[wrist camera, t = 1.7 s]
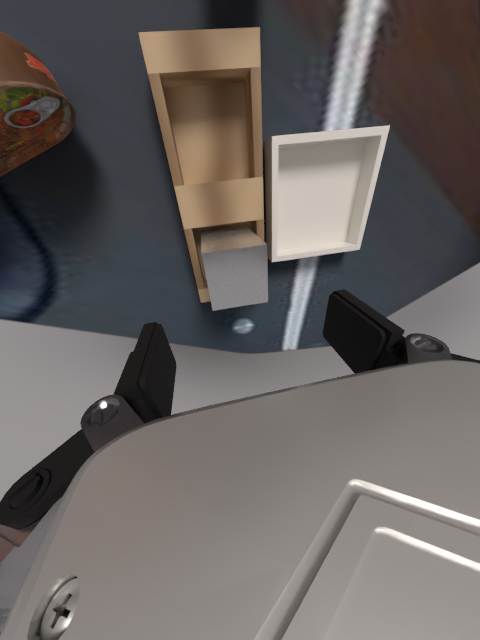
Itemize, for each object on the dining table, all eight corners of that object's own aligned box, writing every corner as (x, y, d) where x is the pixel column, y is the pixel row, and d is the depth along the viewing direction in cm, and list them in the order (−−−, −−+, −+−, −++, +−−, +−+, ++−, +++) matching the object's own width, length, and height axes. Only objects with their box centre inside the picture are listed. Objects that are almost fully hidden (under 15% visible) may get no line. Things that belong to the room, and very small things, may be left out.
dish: (370, 131, 20) (389, 125, 18) (347, 244, 26) (359, 249, 24) (264, 141, 19) (272, 136, 17) (266, 256, 25) (271, 262, 23)
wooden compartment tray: (250, 51, 16) (259, 27, 14) (259, 283, 27) (265, 292, 25) (148, 57, 15) (138, 32, 13) (200, 291, 27) (201, 302, 24)
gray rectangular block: (245, 225, 23) (267, 244, 15) (248, 268, 25) (268, 301, 18) (200, 230, 22) (201, 253, 15) (208, 273, 25) (212, 310, 18)
